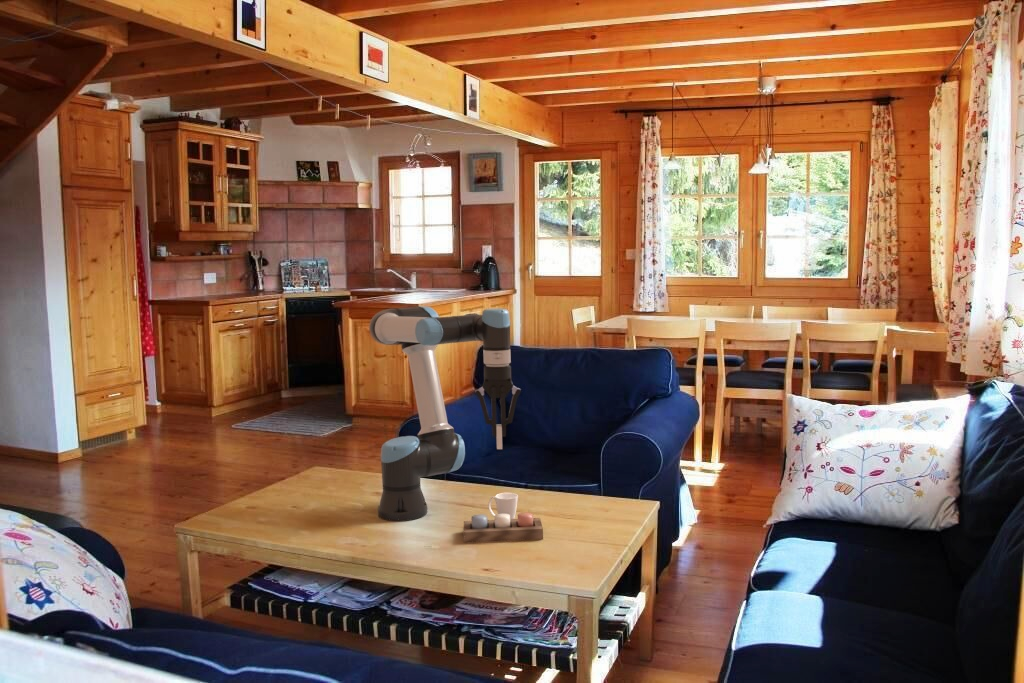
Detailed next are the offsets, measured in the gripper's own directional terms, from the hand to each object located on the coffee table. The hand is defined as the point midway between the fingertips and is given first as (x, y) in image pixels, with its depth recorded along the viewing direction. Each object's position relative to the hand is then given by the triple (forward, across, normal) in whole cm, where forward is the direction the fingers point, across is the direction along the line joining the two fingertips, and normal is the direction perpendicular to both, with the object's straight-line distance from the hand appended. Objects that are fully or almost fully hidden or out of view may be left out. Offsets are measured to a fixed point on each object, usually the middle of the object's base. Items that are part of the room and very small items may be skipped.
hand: (499, 448), depth 244 cm
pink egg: (+23, +7, 0) cm, 24 cm away
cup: (+25, +1, +12) cm, 28 cm away
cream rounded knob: (+24, 0, 0) cm, 24 cm away
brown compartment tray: (+25, 0, 0) cm, 25 cm away
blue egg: (+24, -6, 0) cm, 24 cm away
